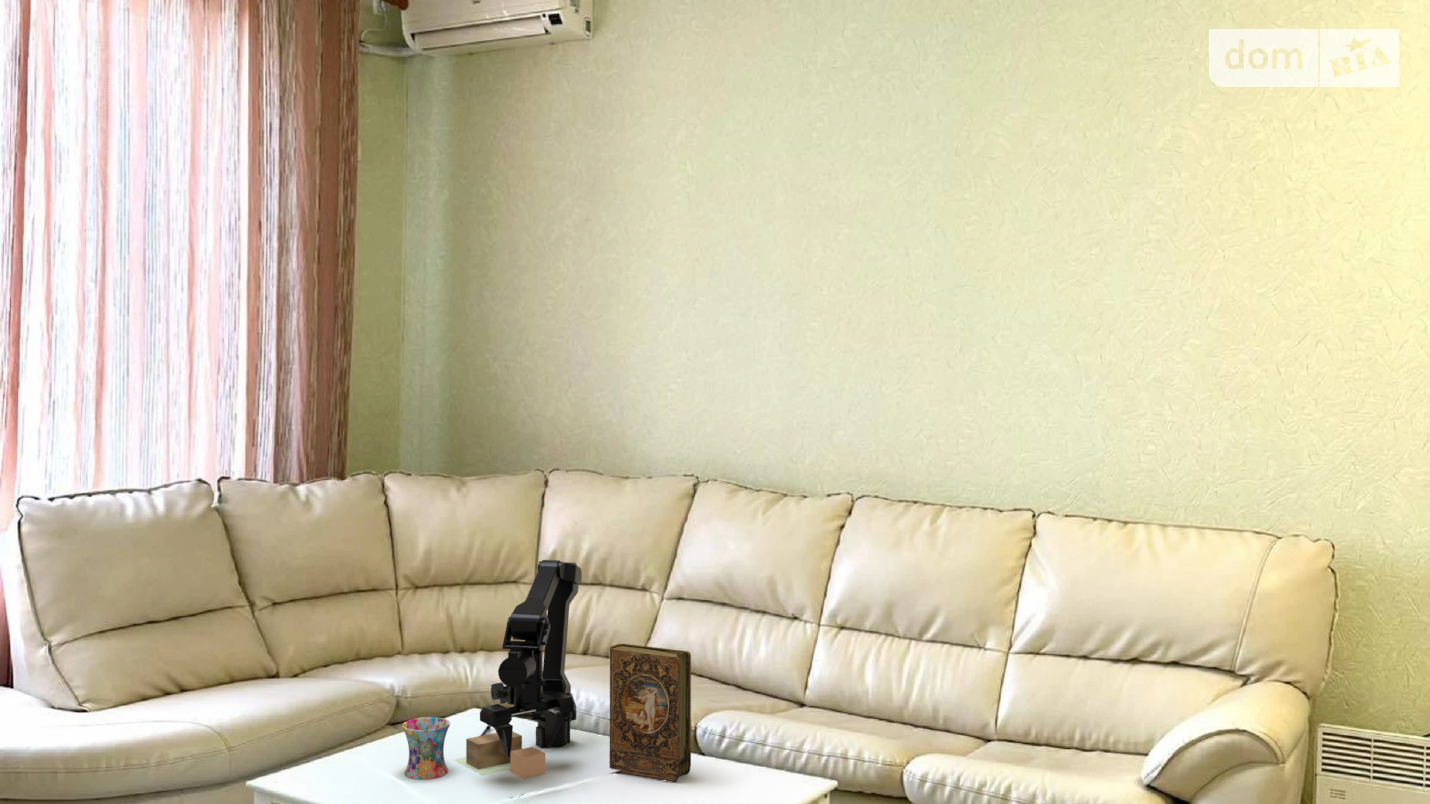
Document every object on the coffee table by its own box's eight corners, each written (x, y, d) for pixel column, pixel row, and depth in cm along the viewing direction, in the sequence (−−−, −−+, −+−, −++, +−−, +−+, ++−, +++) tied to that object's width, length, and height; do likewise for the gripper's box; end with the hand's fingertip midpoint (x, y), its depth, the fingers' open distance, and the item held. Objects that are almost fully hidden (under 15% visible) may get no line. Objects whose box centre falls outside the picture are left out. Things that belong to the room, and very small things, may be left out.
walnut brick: (509, 753, 274) (509, 729, 273) (521, 759, 270) (521, 735, 270) (466, 763, 268) (466, 738, 267) (478, 769, 264) (478, 744, 263)
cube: (532, 771, 266) (532, 746, 265) (545, 777, 262) (545, 752, 262) (510, 776, 263) (510, 751, 262) (523, 782, 259) (523, 757, 258)
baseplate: (505, 752, 277) (505, 748, 277) (534, 767, 268) (534, 763, 268) (453, 763, 270) (453, 759, 270) (482, 779, 260) (482, 775, 260)
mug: (437, 786, 256) (437, 732, 256) (393, 781, 258) (393, 728, 258) (464, 766, 268) (463, 715, 267) (422, 762, 270) (422, 711, 269)
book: (605, 771, 265) (605, 648, 264) (618, 763, 270) (619, 643, 269) (678, 783, 258) (679, 657, 257) (690, 775, 263) (691, 651, 262)
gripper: (547, 659, 273) (547, 733, 274) (466, 673, 262) (466, 750, 262) (576, 670, 265) (576, 746, 265) (493, 685, 253) (494, 765, 254)
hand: (528, 751), depth 262 cm, fingers open, 9 cm apart
